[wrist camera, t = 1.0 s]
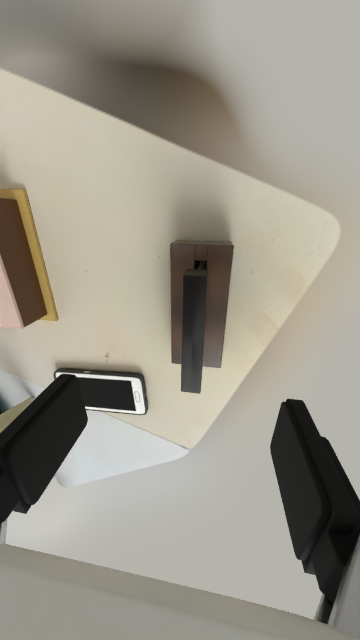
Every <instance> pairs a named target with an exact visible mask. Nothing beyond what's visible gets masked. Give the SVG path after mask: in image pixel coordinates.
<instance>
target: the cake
mask: <svg viewBox="0 0 360 640" xmlns="http://www.w3.org/2000/svg"><path fill="white" fill-rule="evenodd" d="M36 320H48V321H57V320H58V317H57V313H56V309H55V305H54V301H53V297H52V293H51V289H50V285H49V281H48V277H47V273H46V269H45V265H44V261H43V257H42V253H41V249H40V245H39V241H38V237H37V233H36V229H35V225H34V221H33V217H32V213H31V209H30V205H29V201H28V197H27V193H26V190H24V189H0V327H7V328H19V329H22V328H24V327H26V326H28V325H29V324H31V323H33V322H35V321H36Z"/></svg>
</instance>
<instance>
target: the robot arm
mask: <svg viewBox="0 0 360 640" xmlns="http://www.w3.org/2000/svg"><path fill="white" fill-rule="evenodd" d="M87 421H88V417H87V413H86V409H85V404H84V400H83V395H82V391H81V386H80V382H79V379H78V378H77V377H76V376H75V375H73V374H64V373H63V374H61V375H59V376H58V377H57V378H56V379H55V380H54V381H53V382H52V383H51V384H50V385H49V386H48V387H47V388H46V389H45V390H44V391H43V392H42V393H41V394H40V395H39V396H38V397H37V398H36V399H35V400H34V401H33V402H32V403H31V404H30V405H29V406H28V407H26V408H25V409H24V410H23V411H22V412H21V413H20V414H19V415H18V416H17V417H16V418H15V419H14V420H13V421H12V422H11V423H10V424H9V425H8V426H7V427H6V428H5V429H4V430H3V431H2V432H1V433H0V640H360V501H359V499H358V496H357V495H356V493H355V491H354V489H353V487H352V485H351V483H350V481H349V479H348V477H347V475H346V473H345V471H344V469H343V468H342V466H341V464H340V462H339V460H338V458H337V456H336V454H335V452H334V450H333V448H332V446H331V444H330V443H329V441H328V440H327V439H326V438H325V437H321V436H320V434H319V432H318V430H317V428H316V426H315V424H314V422H313V420H312V418H311V416H310V413H309V412H308V409H307V408H306V405H305V403H304V402H303V401H302V400H294V399H287V400H286V402H282V404H281V408H280V411H279V415H278V419H277V422H276V426H275V430H274V433H273V437H272V441H271V446H270V449H271V455H272V460H273V464H274V468H275V472H276V476H277V480H278V485H279V489H280V493H281V497H282V502H283V505H284V510H285V515H286V519H287V523H288V527H289V531H290V536H291V539H292V544H293V548H294V552H295V555H296V557H297V559H299V560H302V564H303V568H304V572H305V573H309V574H313V575H316V578H317V581H318V585H319V588H320V590H321V592H322V593H323V594H322V597H321V600H320V603H319V605H318V608H317V611H316V614H315V617H314V620H312V619H309V618H306V617H303V616H300V615H297V614H293V613H289V612H286V611H282V610H278V609H274V608H271V607H267V606H263V605H259V604H256V603H252V602H248V601H244V600H240V599H236V598H232V597H228V596H223V595H220V594H216V593H211V592H207V591H203V590H199V589H195V588H190V587H186V586H182V585H178V584H174V583H169V582H166V581H162V580H158V579H153V578H149V577H145V576H141V575H136V574H132V573H128V572H123V571H119V570H115V569H111V568H107V567H102V566H98V565H94V564H90V563H85V562H81V561H77V560H73V559H68V558H64V557H59V556H55V555H51V554H46V553H42V552H38V551H33V550H29V549H24V548H20V547H16V546H11V545H7V544H5V538H6V528H7V527H6V526H7V518H8V516H9V515H10V513H11V512H12V511H16V512H20V513H25V514H26V513H27V511H28V510H29V508H30V507H31V505H34V504H35V503H36V502H37V501H38V500H39V498H40V497H41V495H42V494H43V492H44V490H45V489H46V487H47V486H48V484H49V483H50V481H51V479H52V478H53V476H54V475H55V473H56V472H57V470H58V469H59V467H60V466H61V464H62V462H63V461H64V459H65V458H66V456H67V455H68V453H69V452H70V450H71V448H72V447H73V445H74V444H75V442H76V441H77V439H78V437H79V436H80V434H81V433H82V431H83V430H84V428H85V427H86V424H87Z"/></svg>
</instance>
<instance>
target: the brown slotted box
mask: <svg viewBox="0 0 360 640" xmlns="http://www.w3.org/2000/svg"><path fill="white" fill-rule="evenodd" d="M233 248H234V246H233V244H232V242H217V241H175V242H173V243H171V244H170V257H171V353H172V363H176V364H181V363H182V285H183V274H184V273H185V271H186V269H197V261H207V267H206V270H208V286H207V302H206V318H205V334H204V350H203V366H206V367H216V368H221V361H222V351H223V342H224V332H225V323H226V314H227V304H228V295H229V285H230V276H231V267H232V257H233Z"/></svg>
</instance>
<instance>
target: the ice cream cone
mask: <svg viewBox="0 0 360 640" xmlns="http://www.w3.org/2000/svg"><path fill="white" fill-rule="evenodd" d="M33 399H34V397H33V396H32V397H30V398H28V399H27V400H25V401H23V402H21V403H20V404H18V405H16V406H14V407H13V408H11V409H9V410H7V411H6V412H4V413H2V414H0V433H1V432H2V431H3V430H4V429H5V428H6V427H7V426H8V425H9V424H10V423H11V422H12V421H13V420H14V419H15V418H16V417H17V416H18V415H19V414H20V413H21V412H22V411H23V410H24V409H25V408H26V407H28V406H29V405H30V404H31V403H32V401H33Z"/></svg>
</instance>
